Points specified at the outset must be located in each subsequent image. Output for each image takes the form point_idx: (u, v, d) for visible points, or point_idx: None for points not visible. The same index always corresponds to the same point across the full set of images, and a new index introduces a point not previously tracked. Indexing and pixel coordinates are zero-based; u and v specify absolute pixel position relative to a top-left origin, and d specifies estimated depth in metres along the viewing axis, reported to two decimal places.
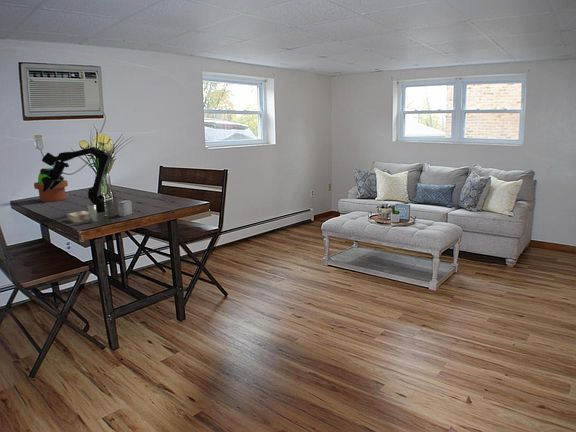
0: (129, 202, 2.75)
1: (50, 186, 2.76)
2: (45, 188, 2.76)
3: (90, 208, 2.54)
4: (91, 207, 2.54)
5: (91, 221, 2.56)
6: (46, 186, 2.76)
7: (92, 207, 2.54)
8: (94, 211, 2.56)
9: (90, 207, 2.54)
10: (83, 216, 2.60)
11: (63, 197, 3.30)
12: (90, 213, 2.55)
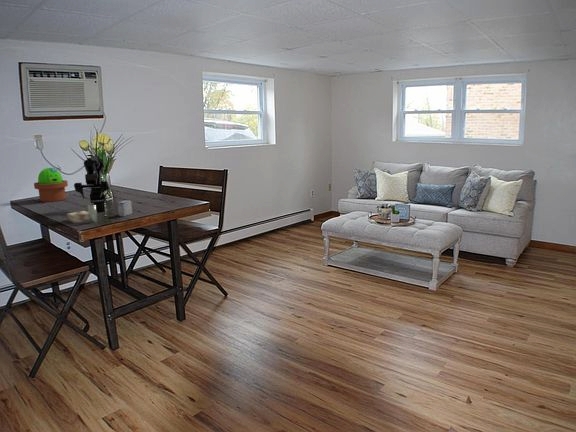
0: (129, 202, 2.75)
1: None
2: (101, 193, 2.64)
3: (90, 208, 2.54)
4: (91, 207, 2.54)
5: (91, 221, 2.56)
6: (102, 191, 2.65)
7: (92, 207, 2.54)
8: (94, 211, 2.56)
9: (90, 207, 2.54)
10: (83, 216, 2.60)
11: (63, 197, 3.30)
12: (90, 213, 2.55)
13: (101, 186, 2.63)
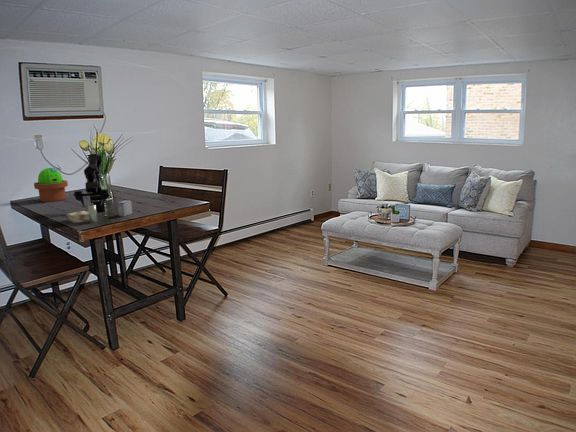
0: (129, 202, 2.75)
1: (103, 200, 2.64)
2: (102, 201, 2.61)
3: (90, 208, 2.54)
4: (91, 207, 2.54)
5: (91, 221, 2.56)
6: (102, 199, 2.61)
7: (92, 207, 2.54)
8: (94, 211, 2.56)
9: (90, 207, 2.54)
10: (83, 216, 2.60)
11: (63, 197, 3.30)
12: (90, 213, 2.55)
13: (101, 194, 2.60)
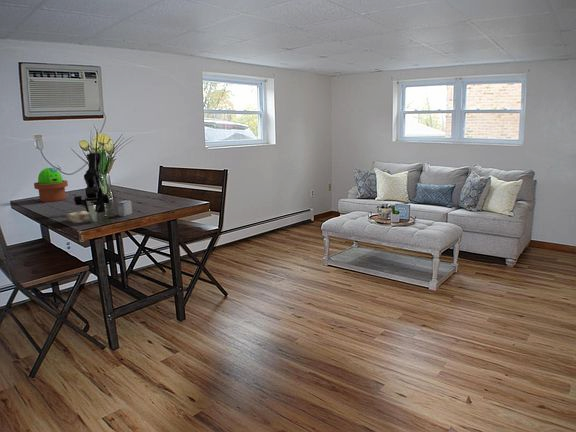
0: (129, 202, 2.75)
1: None
2: (98, 207, 2.58)
3: (90, 208, 2.54)
4: (91, 207, 2.54)
5: (91, 221, 2.56)
6: (98, 205, 2.59)
7: (92, 207, 2.54)
8: (94, 211, 2.56)
9: (90, 207, 2.54)
10: (83, 216, 2.60)
11: (63, 197, 3.30)
12: (90, 213, 2.55)
13: (98, 200, 2.58)
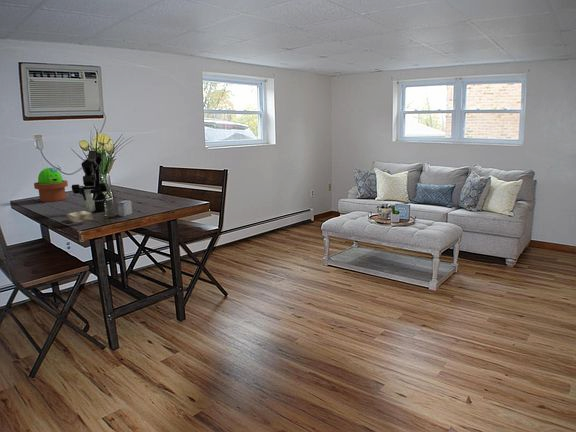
0: (129, 202, 2.75)
1: (97, 194, 2.60)
2: (95, 195, 2.57)
3: (87, 196, 2.53)
4: (88, 195, 2.53)
5: (88, 209, 2.55)
6: (96, 193, 2.58)
7: (89, 195, 2.53)
8: (91, 199, 2.54)
9: (87, 195, 2.53)
10: (83, 216, 2.60)
11: (63, 197, 3.30)
12: (87, 201, 2.54)
13: (95, 188, 2.56)
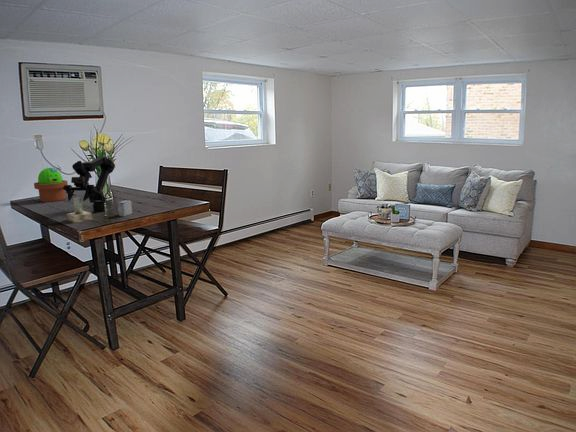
0: (129, 202, 2.75)
1: (90, 195, 2.65)
2: (86, 197, 2.62)
3: (74, 200, 2.60)
4: (75, 199, 2.59)
5: (75, 212, 2.62)
6: (87, 195, 2.62)
7: (76, 199, 2.59)
8: (78, 203, 2.60)
9: (74, 199, 2.59)
10: (83, 216, 2.60)
11: (63, 197, 3.30)
12: (74, 204, 2.60)
13: (86, 189, 2.61)
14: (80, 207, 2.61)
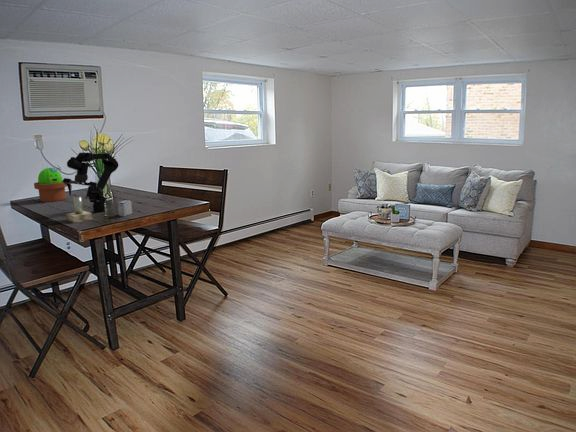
0: (129, 202, 2.75)
1: (90, 189, 2.74)
2: (88, 193, 2.71)
3: (74, 200, 2.60)
4: (75, 199, 2.59)
5: (75, 212, 2.62)
6: (89, 191, 2.71)
7: (76, 199, 2.59)
8: (78, 203, 2.60)
9: (74, 199, 2.59)
10: (83, 216, 2.60)
11: (63, 197, 3.30)
12: (74, 204, 2.60)
13: (89, 187, 2.69)
14: (80, 207, 2.61)
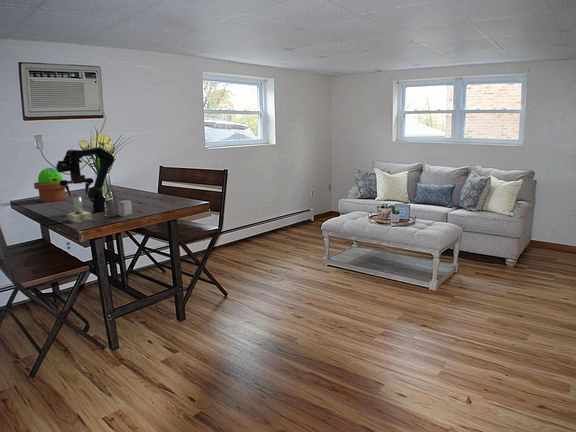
0: (129, 202, 2.75)
1: None
2: None
3: (74, 200, 2.60)
4: (75, 199, 2.59)
5: (75, 212, 2.62)
6: (87, 187, 2.75)
7: (76, 199, 2.59)
8: (78, 203, 2.60)
9: (74, 199, 2.59)
10: (83, 216, 2.60)
11: (63, 197, 3.30)
12: (74, 204, 2.60)
13: (87, 185, 2.72)
14: (80, 207, 2.61)
